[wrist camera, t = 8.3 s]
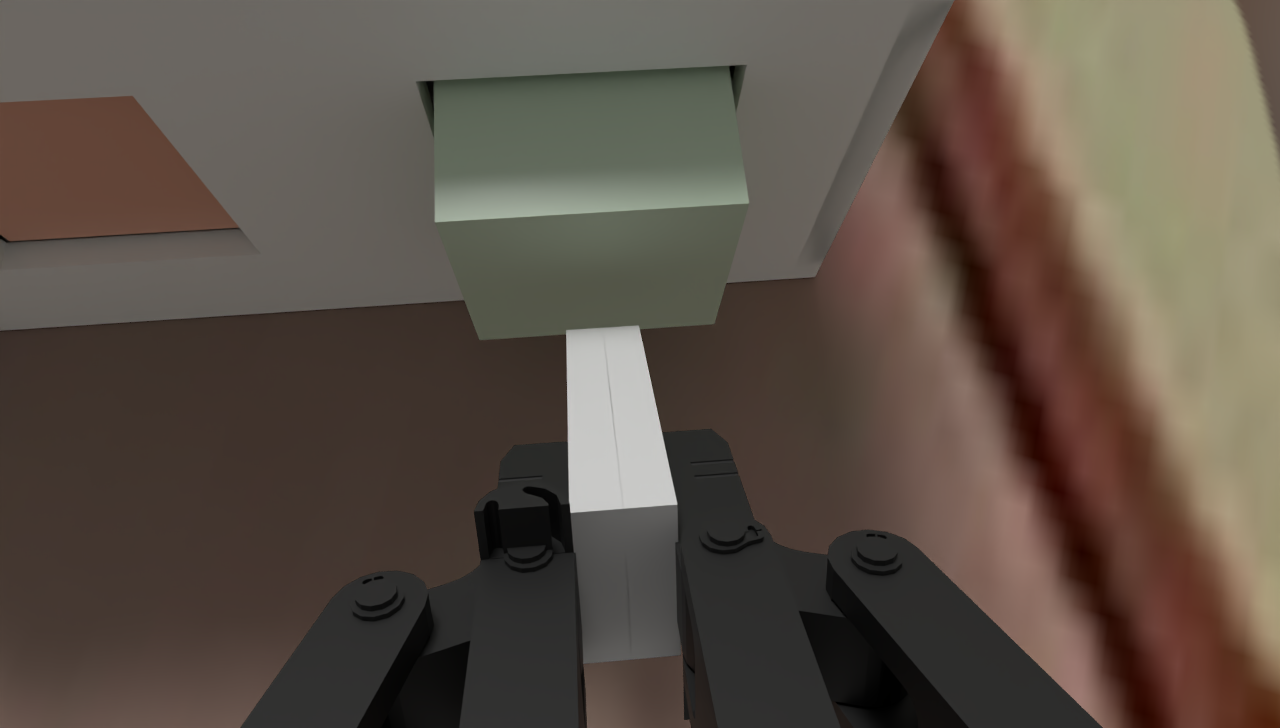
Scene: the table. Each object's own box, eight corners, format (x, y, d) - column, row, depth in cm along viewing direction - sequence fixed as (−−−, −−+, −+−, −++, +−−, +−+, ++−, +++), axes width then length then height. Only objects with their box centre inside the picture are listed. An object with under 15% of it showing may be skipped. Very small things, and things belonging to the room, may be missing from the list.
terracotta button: (9, 241, 23) (-190, 94, 17) (48, 24, 25) (-115, -168, 19) (246, 227, 23) (128, 78, 17) (262, 14, 25) (163, -178, 20)
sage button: (479, 340, 22) (434, 222, 16) (473, 108, 24) (432, -64, 19) (714, 324, 22) (749, 203, 17) (686, 97, 25) (707, -75, 19)
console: (-47, 333, 26) (-633, 20, 14) (7, 58, 29) (-424, -388, 17) (815, 276, 27) (978, -49, 15) (770, 22, 31) (875, -411, 19)
